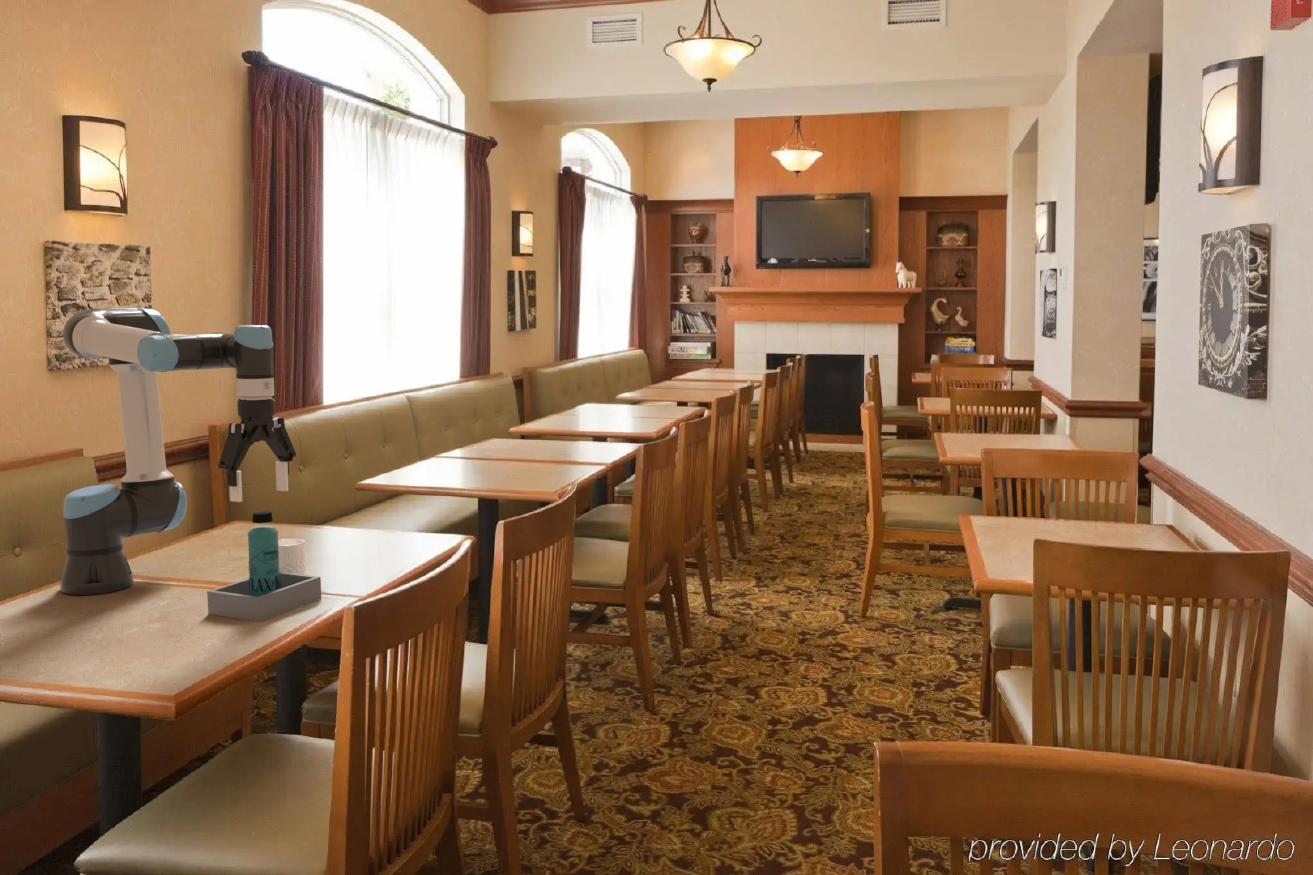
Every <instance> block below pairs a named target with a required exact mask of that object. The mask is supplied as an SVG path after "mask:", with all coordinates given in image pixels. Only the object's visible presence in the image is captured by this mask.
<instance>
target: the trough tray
mask: <svg viewBox="0 0 1313 875" xmlns="http://www.w3.org/2000/svg"><path fill="white" fill-rule="evenodd" d="M280 578H281V580H280V582H281V583H280V586H281V587H280V589H279V590H276V591H273V592H270V593H267V594H264V595H261V596H258V597H256V596H251V595H250V594H249V591H250V590H249V585H250V584H249V583H250V582H249V581H250V578H249V577H248V578H245V579H243V580H239V581H236V582H232V583H229V584H226V585H222V586H220V587H217V588H214V589H211V590H207V591H206V595H207V597H206V598H207V612H208V613H207V614H208V615H212V616H219V617H224V618H229V619H230V618H231V619H238V620H244V621H251V622H263V621H266V620H268V619H271V618H273V617H275V616H278V615H281V614H285V613H287V612H290V611H292V610H294V609H297V608H299V607H302V606H305V605H308V604H311V603H313V602H317V601H319V600H321V599H322V583H321V582H322V580H321V579H322V578H321V576H316V575H307V574H304V575H301V574H293V573H285V572H280Z"/></svg>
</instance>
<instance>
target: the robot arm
mask: <svg viewBox="0 0 1313 875" xmlns="http://www.w3.org/2000/svg"><path fill="white" fill-rule="evenodd" d="M271 328H272V327H270V326H269V325H264V324H260V325H259V324H256V325H255V324H246V325H244V324H242V325H236V326H235V327H234V332H233V333H227V332H223V331H222V332H212V333H193V334H192V333H191V334H174V333H173V334H172V333H171V332H172V331H171V329H170V326H169V324H168V322H167V320H166V319H165V317H163V315H162V313H160V312H158V310H155V309H152V308H143V307H142V308H141V307H127V308H125V307H123V308H122V307H121V308H119V307H118V308H117V307H116V308H100V307H99V308H97V307H95V308H88V309H87V308H86V309H83V310H81V311H78V312H76V313H74V314H73V315H72V316H70V317H69V318H68V320H67V321H66V322H65V324H64V326H63V328H62V337H63V342H64V345H66V348H68V350H69V351H70V352H72V353H73V354H75V355H77V356H78V357H82V358H87V359H93V360H94V359H97V360H99V359H108V364H109V367H110V368H111V369H112V370H113V371H115V373H117V383H118V384H117V385H118V394H119V404H120V406H119V407H120V412H121V413H120V416H121V423H122V424H121V425H122V434H123V436H122V437H123V443H124V444H123V445H124V454H125V463H126V464H125V465H126V473H125V475H124V476H123V477H122V478H121V479H120V485H121V488H120V487H119V485H117V484H115V483H104V484H99V485H90V486H85V487H82V488H78V489H75V490H73V491H71V492H69V493H68V494H67V495H66V496H65V497H64V498H63V508H62V509H63V511H62V512H63V513H62V518H63V521H64V534H65V535H64V536H65V546H66V549H65V550H66V559H65V563H64V567H63V570H62V571H63V572H62V577H61V579H60V583H59V586H60V592H61V593H62V594H65V595H69V596H70V595H71V596H90V595H100V594H106V593H107V594H108V593H112V592H117V591H121V590H124V589H127V588H130V587H132V586H133V585H134V574H133V571H132V570H131V567H130V564H129V562H128V560H127V556H126V555H125V551H124V541H123V539H126V538H131V537H132V538H133V537H137V536H141V535H147V534H152V533H158V534H159V533H162V532H165V531H168V530H172V529H174V528H177V527H178V526H179V525H180V524H181V523H182V521H183V520H184V518H185V515H186V512H187V506H188V500H187V494H186V491H185V490H184V486H183V485H182V484H181V483H180V482H179V481H175V477H174V474H173V473H171V472H170V471H169V470H168V469H167V464H166V453H165V443H164V441H165V440H164V433H163V431H164V430H163V422H162V421H163V420H162V412H161V402H160V401H161V400H160V391H159V390H160V388H159V379H158V378H159V377H158V373H167V372H174V371H189V370H190V371H191V370H193V371H194V370H195V371H196V370H212V369H213V370H215V369H235V378H236V397H238V398H239V399H238V400H237V401H236V402H237V415H238V417H239V418H240V423H235V422H229V424H228V430H227V431H228V432H227V437H226V440H225V443H224V445H223V446H224V447H223V450H222V452H221V455H220V458H219V460H218V461H219V462H218V465H217V467H218V469H221V470H222V471H226V479H227V481H226V482H227V486H228V488H229V501H230V502H237V503H242V502H243V483H242V482H243V481H242V470H239V468H240V466H241V465H242V463H243V461H244V459H245V457H246V455H247V453H248V452H249V450H250V447H251V446H252V445H254V444H255V443H259V442H261V441H263V442H265V443H266V444H267V446H268V448H269V449H270V450H271V452H272V453H273V454H274V455H275V457H276V458H277V459H278V460H276V461H275V481H276V482H275V484H276V491H278V492H279V491H280V492H289V474H290V462H293V460H294V458H295V457H296V456H297V453H296V451H295V450H296V449H295V447H294V445H293V443H292V440H291V439H290V436H289V434H288V431H287V428H286V424H285V419H284V417H277V416H275V414H276V403H275V402H276V400H275V399H274V398H273V397H274V396H275V380H274V376H275V374H274V373H275V372H274V369H275V368H274V342H273V333H272V332H273V331H272V329H271Z"/></svg>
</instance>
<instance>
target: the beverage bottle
mask: <svg viewBox="0 0 1313 875" xmlns="http://www.w3.org/2000/svg"><path fill="white" fill-rule="evenodd" d="M273 518H274V517H273V512H272V511H269V510H262V511H261V510H259V511H254V512H253V513H252V523H254V524H266V523H271V522H273V521H274V519H273ZM247 538H248V539H247V540H248V541H247V542H248V569H247V570H248V578H250V581H249V582H250V583H249V584H250V585H249V590H250V591H249V594H250V595H251V596H256V597H258V596H261V595H264V594H267V593H270V592H273V591H276V590H279V589H280V587H281V586H280V583H281V582H280V580H281V578H280V572H279V569H280V568H279V556H280V555H279V548H278V540H279V530H278V529H276V528H275V527H274V526H273V525H259V526H254V527H252V528H251V529H250V530H249V531H248V532H247Z"/></svg>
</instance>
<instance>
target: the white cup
mask: <svg viewBox="0 0 1313 875" xmlns="http://www.w3.org/2000/svg"><path fill="white" fill-rule="evenodd" d="M278 548H279V555H280V556H279V568H280V569H279V572H285V573H293V574H301V575H305V569H306V568H305V567H306V566H305V563H306V540H305V539H302V538H282V539H278Z"/></svg>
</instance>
